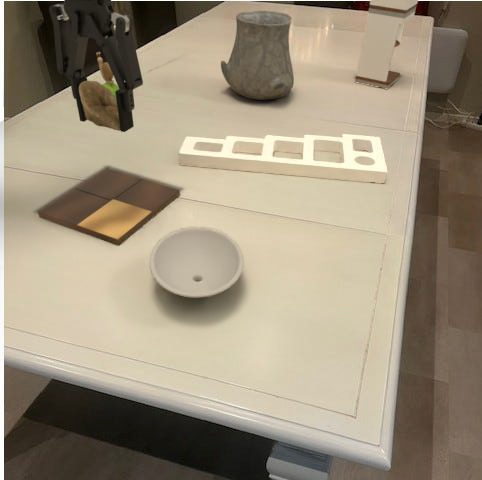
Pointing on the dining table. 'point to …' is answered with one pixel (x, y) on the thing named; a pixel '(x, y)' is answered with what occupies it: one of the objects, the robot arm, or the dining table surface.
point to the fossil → (99, 105)
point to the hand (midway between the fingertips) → (106, 123)
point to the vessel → (260, 56)
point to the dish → (196, 261)
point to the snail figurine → (107, 75)
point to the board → (110, 205)
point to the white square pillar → (382, 40)
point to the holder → (350, 168)
